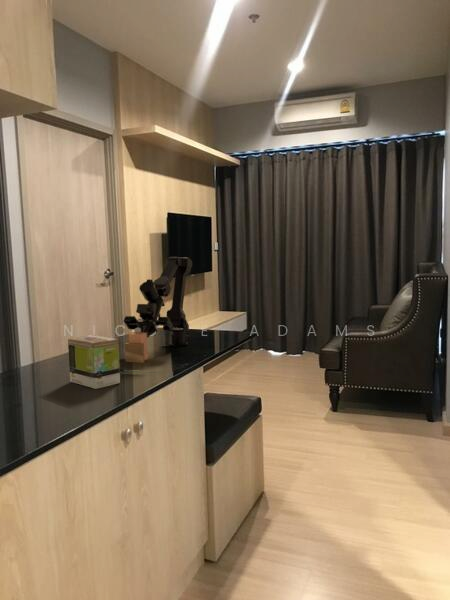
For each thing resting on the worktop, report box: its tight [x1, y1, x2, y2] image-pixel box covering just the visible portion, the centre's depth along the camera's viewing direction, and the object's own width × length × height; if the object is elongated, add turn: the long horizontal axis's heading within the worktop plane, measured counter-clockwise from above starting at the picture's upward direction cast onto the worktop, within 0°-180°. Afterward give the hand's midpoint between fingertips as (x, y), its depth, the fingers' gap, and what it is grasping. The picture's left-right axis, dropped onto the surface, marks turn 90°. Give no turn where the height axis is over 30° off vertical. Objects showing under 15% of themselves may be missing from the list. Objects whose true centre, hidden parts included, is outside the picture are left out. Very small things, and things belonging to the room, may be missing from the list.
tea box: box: [67, 334, 121, 390], centre depth 168 cm, size 15×10×15 cm
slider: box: [128, 327, 149, 361], centre depth 193 cm, size 4×5×12 cm
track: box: [124, 342, 146, 364], centre depth 198 cm, size 17×7×8 cm, turn 161°
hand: (141, 341), depth 195 cm, fingers closed, pressing on slider
